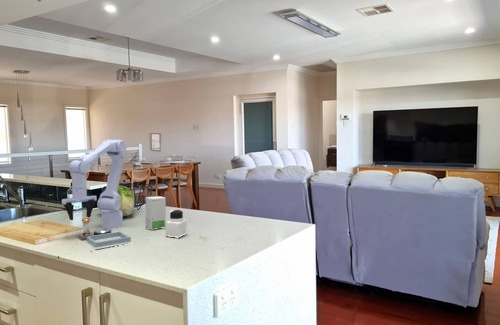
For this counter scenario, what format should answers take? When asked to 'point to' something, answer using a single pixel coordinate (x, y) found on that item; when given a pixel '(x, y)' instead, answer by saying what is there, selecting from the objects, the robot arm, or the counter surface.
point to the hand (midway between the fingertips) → (80, 218)
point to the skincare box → (155, 212)
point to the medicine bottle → (175, 223)
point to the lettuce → (125, 200)
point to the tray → (123, 239)
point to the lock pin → (86, 226)
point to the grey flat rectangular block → (93, 234)
